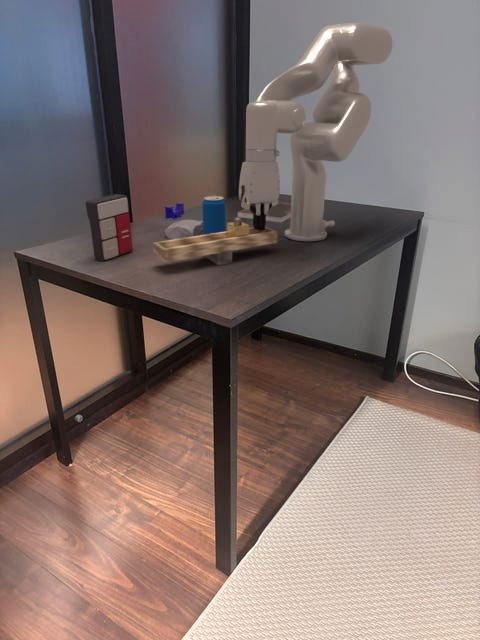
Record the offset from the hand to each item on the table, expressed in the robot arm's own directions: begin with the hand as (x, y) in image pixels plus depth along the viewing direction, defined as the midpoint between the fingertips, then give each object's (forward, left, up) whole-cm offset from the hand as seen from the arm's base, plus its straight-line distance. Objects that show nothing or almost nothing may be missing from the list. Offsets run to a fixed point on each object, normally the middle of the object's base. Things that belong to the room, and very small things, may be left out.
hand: (259, 228), depth 127 cm
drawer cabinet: (+35, -17, -7) cm, 39 cm away
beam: (+13, 0, -6) cm, 14 cm away
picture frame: (-29, -36, -7) cm, 46 cm away
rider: (+7, 0, -2) cm, 7 cm away
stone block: (+10, -27, -7) cm, 29 cm away
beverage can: (+4, -17, -7) cm, 19 cm away
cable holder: (+3, -49, -7) cm, 49 cm away
